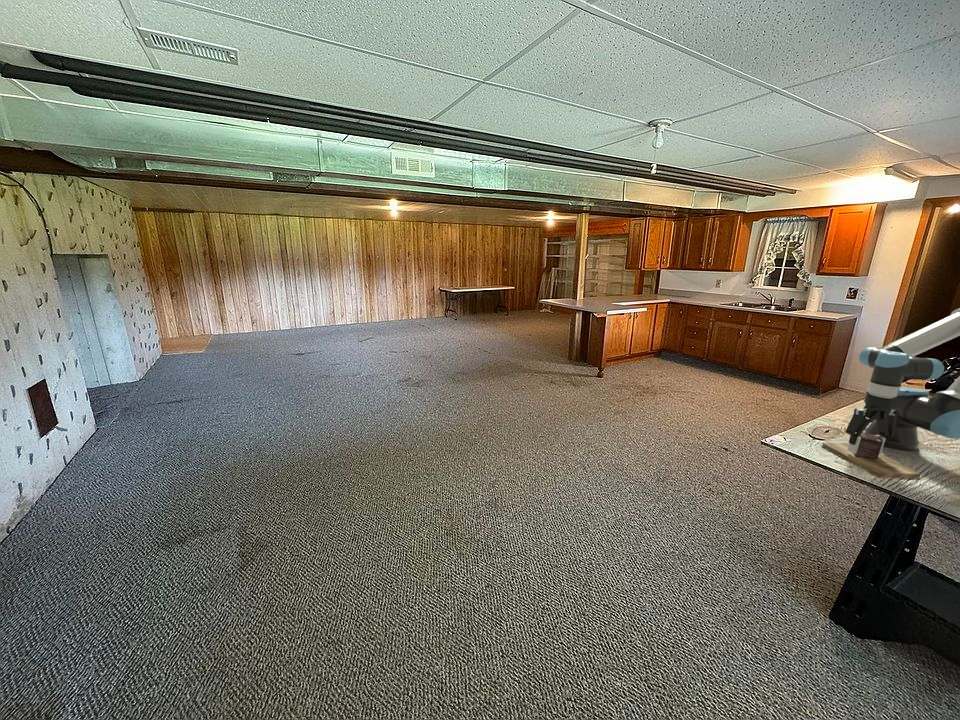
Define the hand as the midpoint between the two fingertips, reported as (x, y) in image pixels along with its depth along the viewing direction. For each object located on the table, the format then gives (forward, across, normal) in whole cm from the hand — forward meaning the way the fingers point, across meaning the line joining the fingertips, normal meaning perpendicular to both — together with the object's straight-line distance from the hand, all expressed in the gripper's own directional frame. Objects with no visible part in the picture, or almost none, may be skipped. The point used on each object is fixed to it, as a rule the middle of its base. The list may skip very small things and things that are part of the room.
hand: (863, 452), depth 140 cm
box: (+1, 0, 0) cm, 1 cm away
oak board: (+3, 0, +2) cm, 3 cm away
